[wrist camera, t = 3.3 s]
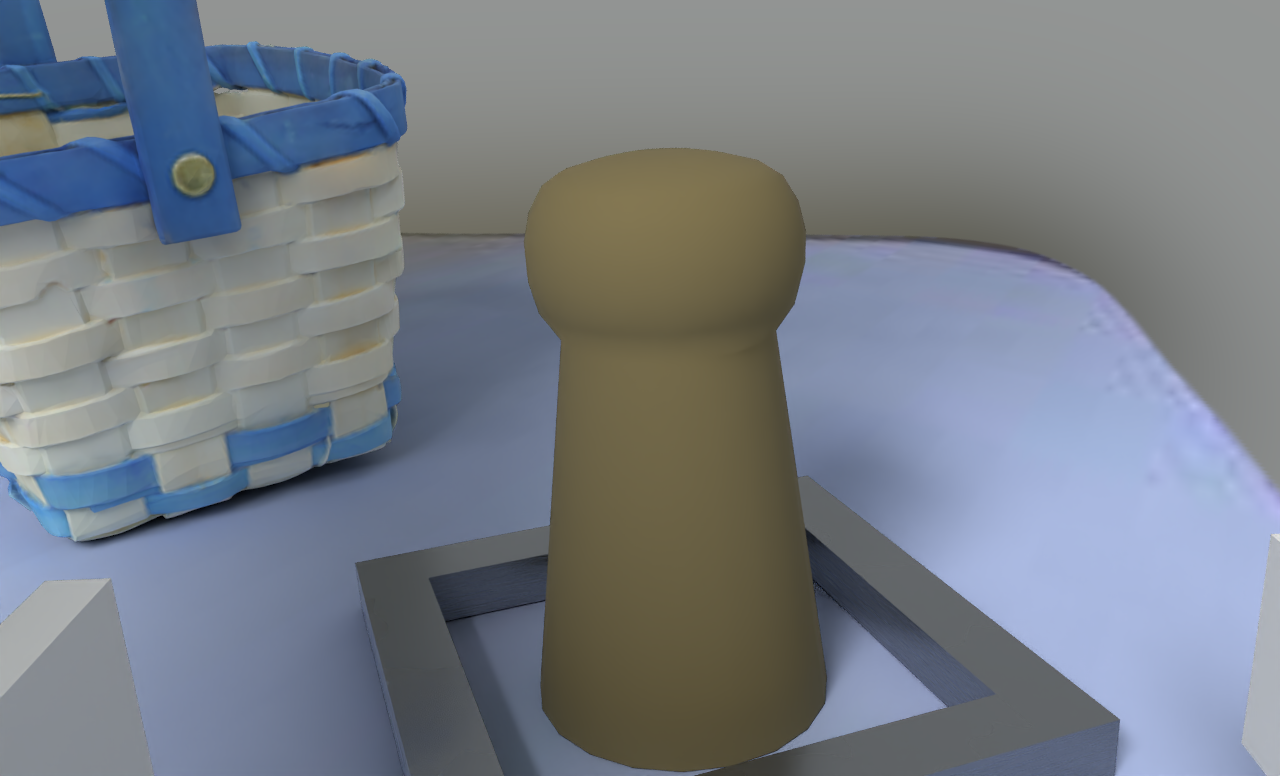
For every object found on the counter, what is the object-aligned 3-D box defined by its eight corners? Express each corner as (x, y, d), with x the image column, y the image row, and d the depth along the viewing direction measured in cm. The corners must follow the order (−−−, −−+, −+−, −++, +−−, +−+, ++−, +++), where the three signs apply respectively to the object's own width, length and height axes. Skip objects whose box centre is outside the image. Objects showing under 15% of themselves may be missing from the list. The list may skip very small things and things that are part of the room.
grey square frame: (361, 607, 28) (355, 562, 28) (807, 516, 32) (807, 475, 31) (455, 978, 17) (446, 913, 17) (1113, 776, 21) (1119, 719, 21)
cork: (720, 814, 21) (701, 191, 17) (479, 703, 24) (421, 170, 21) (879, 658, 25) (890, 139, 21) (655, 584, 29) (633, 129, 25)
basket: (-139, 432, 42) (-347, -303, 35) (301, 342, 51) (210, -264, 43) (-110, 687, 26) (-495, -603, 18) (532, 492, 34) (453, -445, 27)
